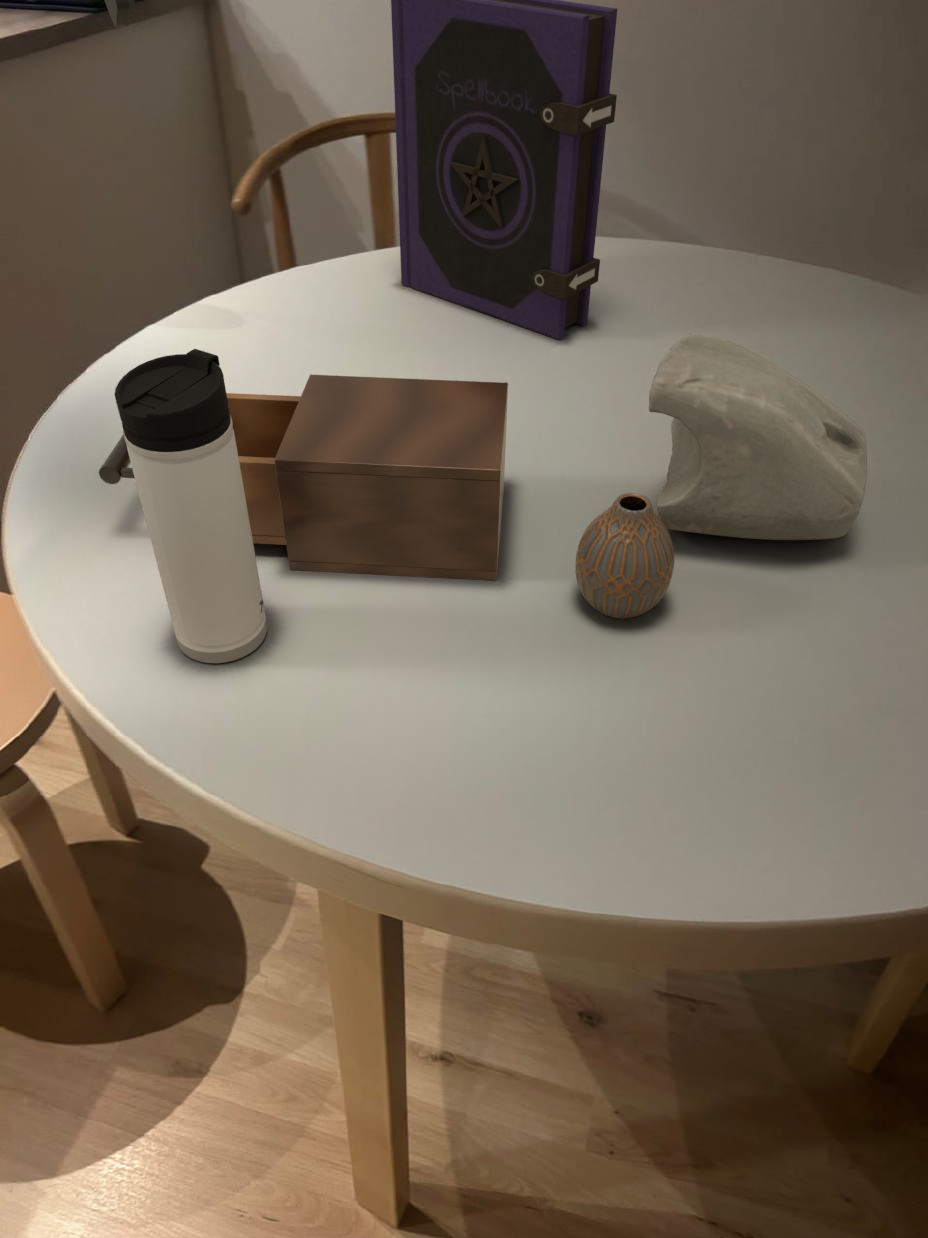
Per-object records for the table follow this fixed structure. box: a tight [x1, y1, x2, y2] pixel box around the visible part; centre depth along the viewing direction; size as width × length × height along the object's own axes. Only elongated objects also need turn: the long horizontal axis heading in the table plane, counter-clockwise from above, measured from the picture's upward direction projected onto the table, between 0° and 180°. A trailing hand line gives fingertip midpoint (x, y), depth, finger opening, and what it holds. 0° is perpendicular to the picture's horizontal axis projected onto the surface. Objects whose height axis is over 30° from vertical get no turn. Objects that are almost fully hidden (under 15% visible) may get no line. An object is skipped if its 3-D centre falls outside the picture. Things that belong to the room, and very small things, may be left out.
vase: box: [575, 492, 675, 619], centre depth 68 cm, size 7×7×9 cm
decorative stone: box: [648, 333, 868, 541], centre depth 73 cm, size 12×17×15 cm
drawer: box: [98, 392, 301, 546], centre depth 75 cm, size 20×12×8 cm, turn 86°
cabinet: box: [274, 374, 509, 582], centre depth 74 cm, size 16×13×10 cm
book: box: [390, 0, 618, 342], centre depth 100 cm, size 24×6×30 cm, turn 50°
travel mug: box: [114, 348, 268, 664], centre depth 61 cm, size 6×7×20 cm
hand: (44, 24), depth 52 cm, fingers open, 8 cm apart
